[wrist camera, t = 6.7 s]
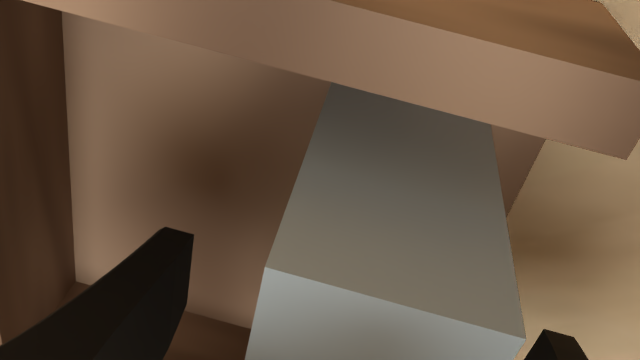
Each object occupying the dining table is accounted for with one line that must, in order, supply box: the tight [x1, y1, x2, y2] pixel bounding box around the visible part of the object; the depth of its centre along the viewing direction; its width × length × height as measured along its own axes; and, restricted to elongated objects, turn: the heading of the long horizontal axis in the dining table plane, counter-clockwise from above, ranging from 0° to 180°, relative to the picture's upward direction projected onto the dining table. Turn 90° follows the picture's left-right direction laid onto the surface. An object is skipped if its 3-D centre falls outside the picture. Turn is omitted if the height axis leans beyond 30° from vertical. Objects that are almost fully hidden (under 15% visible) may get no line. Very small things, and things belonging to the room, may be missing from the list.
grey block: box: [245, 82, 526, 360], centre depth 12 cm, size 4×7×6 cm, turn 168°
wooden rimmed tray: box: [0, 0, 640, 360], centre depth 13 cm, size 12×12×5 cm
